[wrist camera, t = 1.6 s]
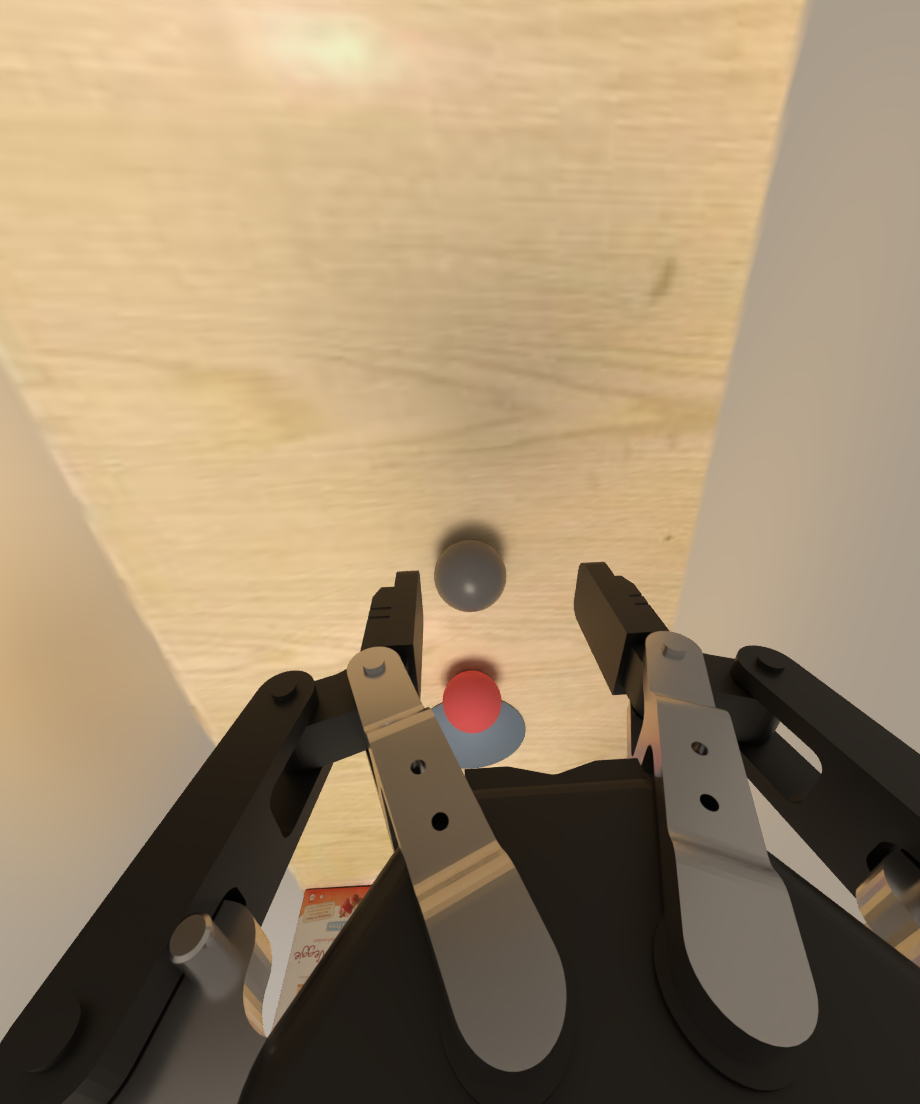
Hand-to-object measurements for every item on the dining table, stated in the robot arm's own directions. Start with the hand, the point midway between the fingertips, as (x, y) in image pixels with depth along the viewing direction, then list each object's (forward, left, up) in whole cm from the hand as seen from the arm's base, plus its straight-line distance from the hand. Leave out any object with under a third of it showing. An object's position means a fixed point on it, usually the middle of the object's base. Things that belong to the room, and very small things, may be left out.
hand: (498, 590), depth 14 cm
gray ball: (-6, +6, -15) cm, 17 cm away
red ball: (-16, +16, -15) cm, 27 cm away
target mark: (-22, +22, -17) cm, 36 cm away
